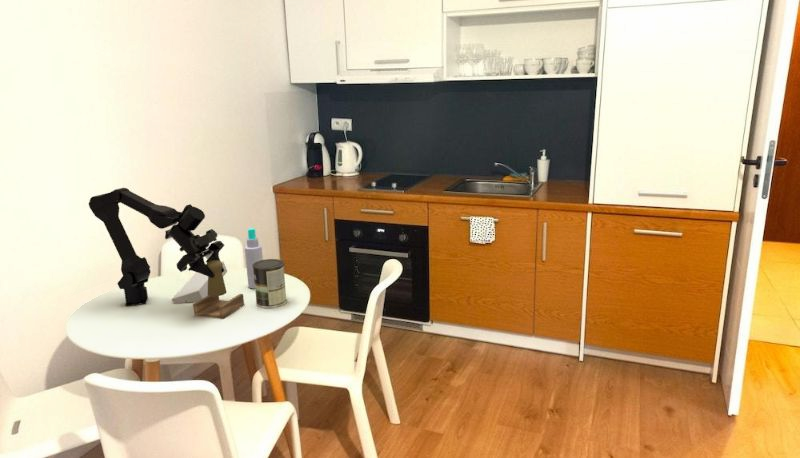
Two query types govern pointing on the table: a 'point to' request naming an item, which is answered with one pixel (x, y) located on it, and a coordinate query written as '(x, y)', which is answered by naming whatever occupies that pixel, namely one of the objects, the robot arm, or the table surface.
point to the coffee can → (269, 283)
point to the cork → (216, 279)
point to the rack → (217, 306)
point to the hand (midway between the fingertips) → (218, 274)
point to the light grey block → (194, 289)
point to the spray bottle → (252, 255)
